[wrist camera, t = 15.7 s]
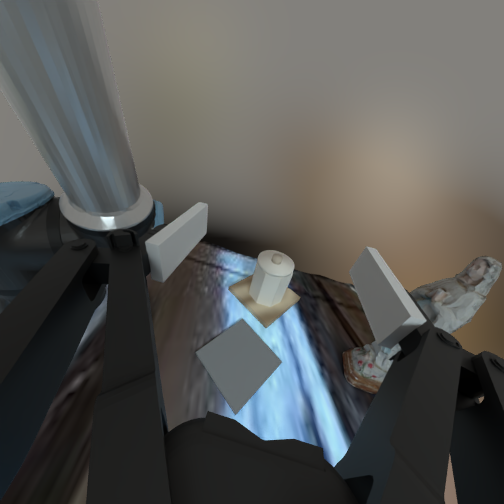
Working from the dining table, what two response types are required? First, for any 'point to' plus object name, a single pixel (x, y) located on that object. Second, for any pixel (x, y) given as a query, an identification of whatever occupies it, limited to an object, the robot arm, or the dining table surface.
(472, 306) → the statue
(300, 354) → the dining table surface
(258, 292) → the white lidded jar
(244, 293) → the board
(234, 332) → the mat
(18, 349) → the robot arm
